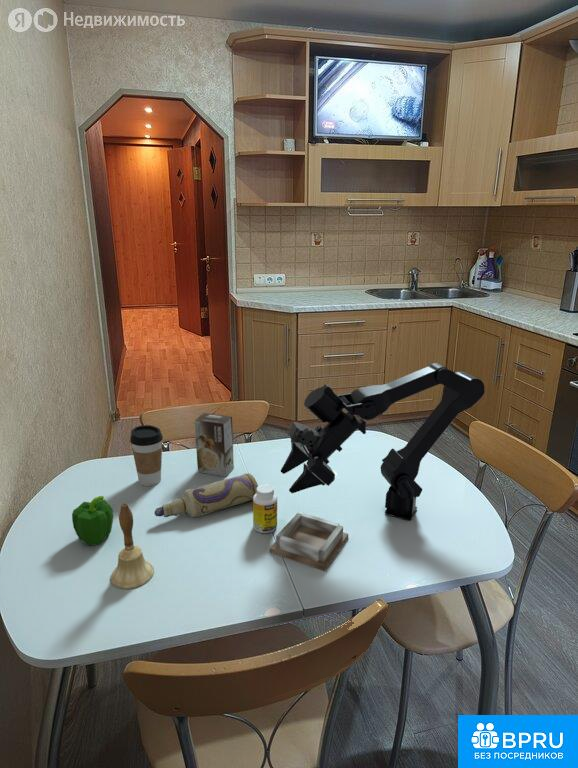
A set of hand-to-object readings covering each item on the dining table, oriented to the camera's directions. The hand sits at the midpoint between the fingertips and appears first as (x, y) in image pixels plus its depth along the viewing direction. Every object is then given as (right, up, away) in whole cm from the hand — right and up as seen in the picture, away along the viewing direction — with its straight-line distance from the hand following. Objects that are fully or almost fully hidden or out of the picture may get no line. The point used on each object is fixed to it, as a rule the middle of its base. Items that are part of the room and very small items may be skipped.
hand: (285, 481), depth 113 cm
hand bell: (-31, -16, -14) cm, 37 cm away
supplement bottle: (-5, -11, +2) cm, 13 cm away
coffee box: (-20, -3, +30) cm, 36 cm away
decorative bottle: (-19, -9, +11) cm, 24 cm away
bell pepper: (-42, -12, -2) cm, 44 cm away
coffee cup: (-37, -4, +23) cm, 44 cm away
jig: (+5, -13, -4) cm, 15 cm away
